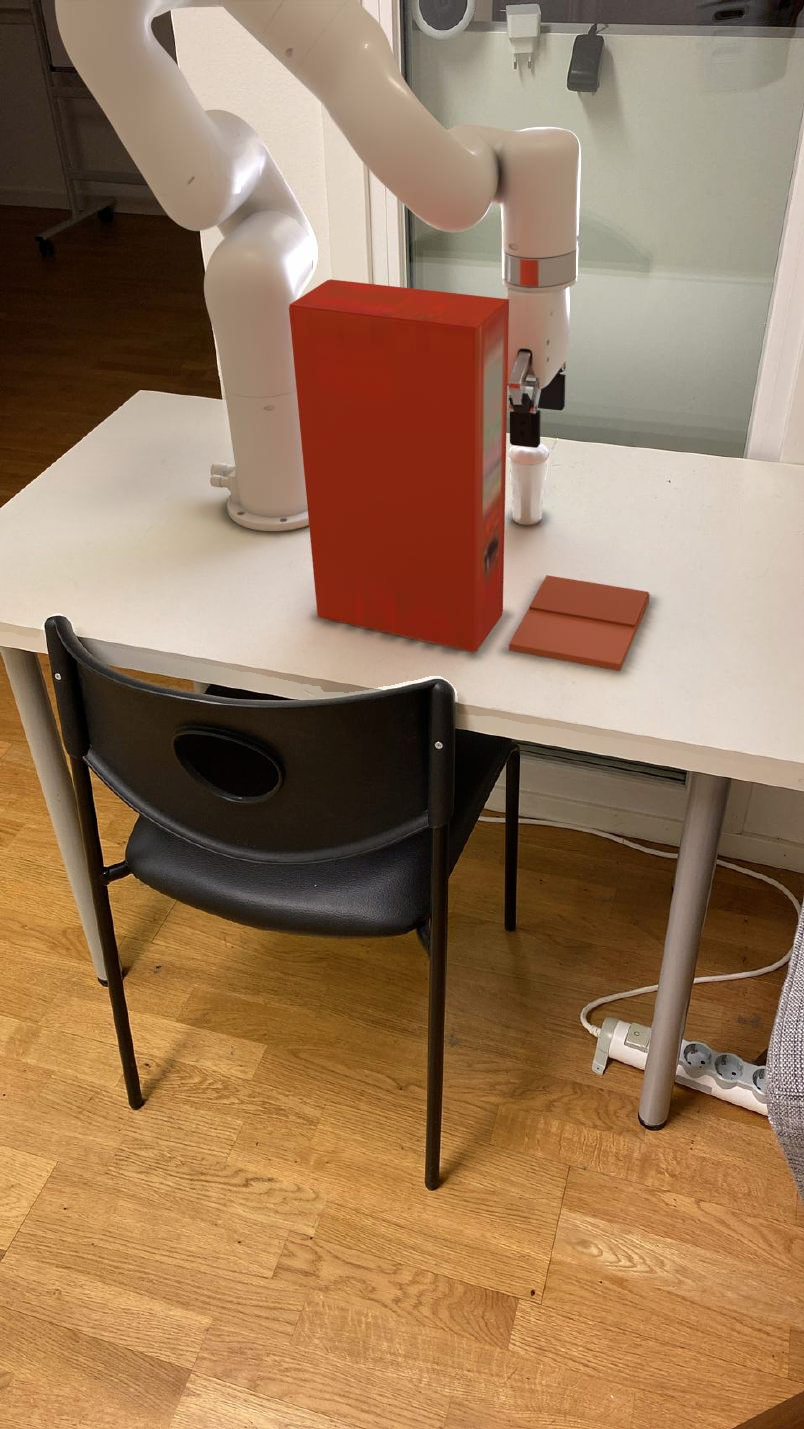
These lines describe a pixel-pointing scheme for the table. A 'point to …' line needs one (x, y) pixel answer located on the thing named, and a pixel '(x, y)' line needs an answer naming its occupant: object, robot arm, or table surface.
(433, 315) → the file binder
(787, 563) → the table surface
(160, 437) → the table surface
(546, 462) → the milkshake
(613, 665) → the cloth
